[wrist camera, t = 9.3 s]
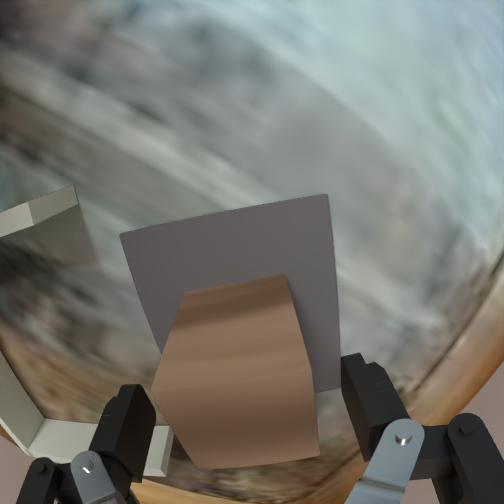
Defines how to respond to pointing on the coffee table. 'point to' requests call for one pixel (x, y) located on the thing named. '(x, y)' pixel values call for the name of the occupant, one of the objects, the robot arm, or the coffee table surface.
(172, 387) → the walnut block
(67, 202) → the open-side box
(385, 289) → the coffee table surface
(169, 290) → the charcoal mat
